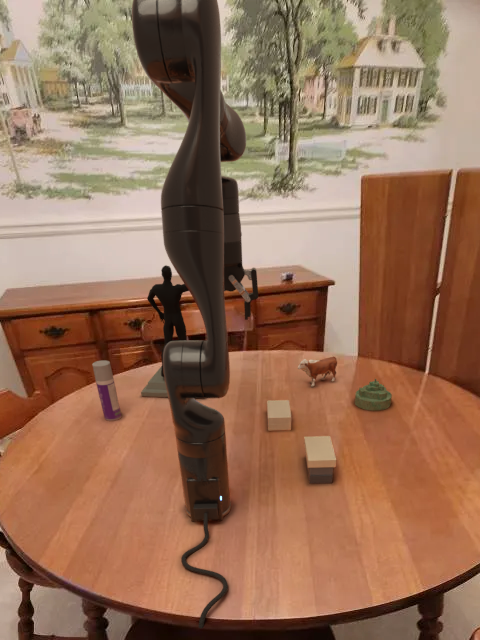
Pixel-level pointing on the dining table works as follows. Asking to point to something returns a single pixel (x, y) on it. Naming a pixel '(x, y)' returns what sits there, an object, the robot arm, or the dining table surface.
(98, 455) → the dining table surface
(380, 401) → the decorative artifact
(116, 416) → the container
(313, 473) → the grey stack
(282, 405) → the small cream box
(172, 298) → the statue
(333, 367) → the bull figurine
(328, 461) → the beige rectangular block
